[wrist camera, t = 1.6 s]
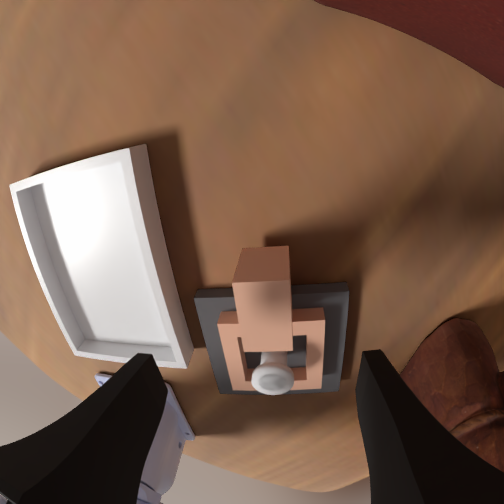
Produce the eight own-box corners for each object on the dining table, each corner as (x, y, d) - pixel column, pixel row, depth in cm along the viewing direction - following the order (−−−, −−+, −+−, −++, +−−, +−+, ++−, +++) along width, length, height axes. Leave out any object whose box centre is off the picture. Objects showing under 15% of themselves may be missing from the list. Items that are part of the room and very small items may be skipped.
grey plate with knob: (337, 381, 21) (342, 422, 17) (222, 384, 22) (212, 424, 18) (346, 282, 17) (359, 324, 13) (197, 289, 18) (178, 329, 15)
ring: (320, 375, 19) (323, 415, 16) (235, 377, 20) (227, 416, 17) (323, 243, 15) (333, 277, 12) (209, 250, 16) (191, 284, 13)
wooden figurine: (418, 411, 22) (450, 572, 6) (364, 408, 22) (382, 596, 6) (490, 316, 17) (585, 501, 1) (437, 303, 17) (540, 548, 1)
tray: (194, 349, 21) (187, 368, 19) (85, 340, 22) (74, 355, 20) (146, 143, 15) (129, 147, 13) (28, 177, 16) (9, 184, 14)
